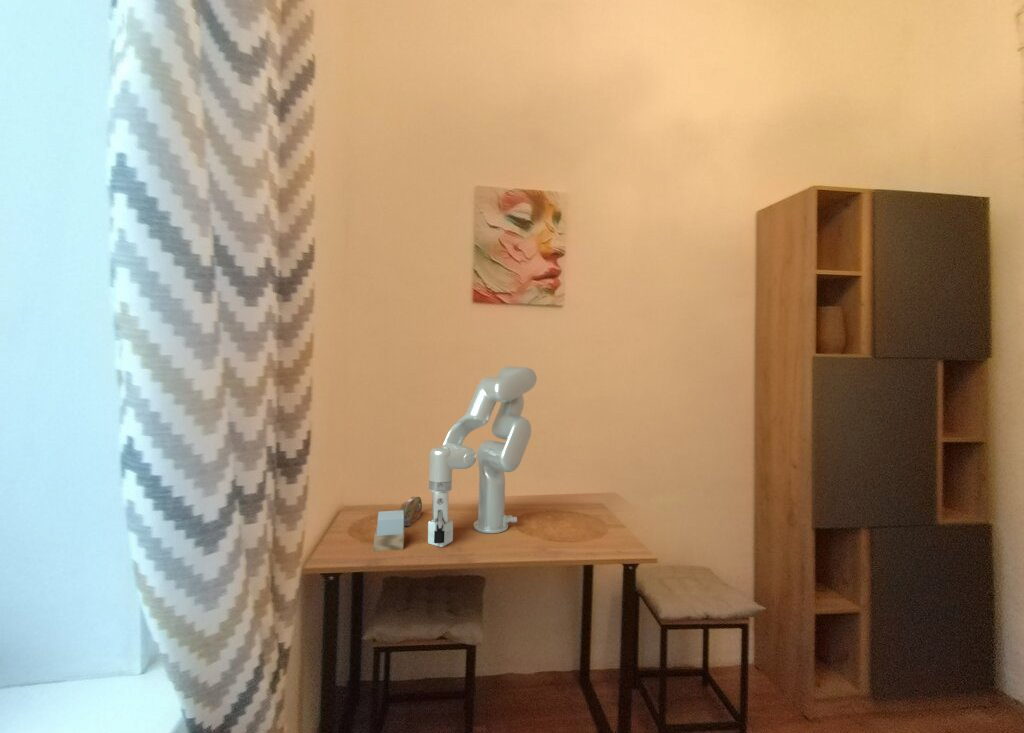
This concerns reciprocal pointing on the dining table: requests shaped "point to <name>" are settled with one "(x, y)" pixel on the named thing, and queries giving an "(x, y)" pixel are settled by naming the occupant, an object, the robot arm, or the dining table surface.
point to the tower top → (390, 523)
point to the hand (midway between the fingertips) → (438, 537)
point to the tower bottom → (389, 541)
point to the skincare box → (447, 533)
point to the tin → (411, 510)
